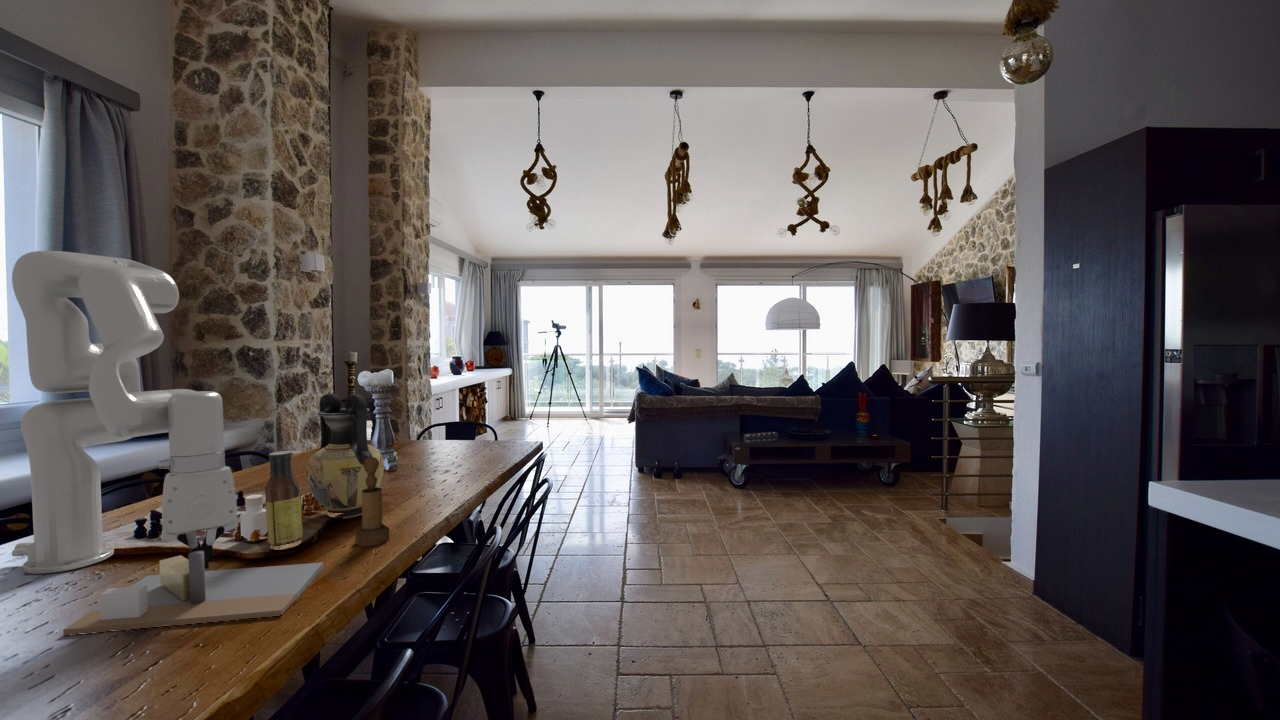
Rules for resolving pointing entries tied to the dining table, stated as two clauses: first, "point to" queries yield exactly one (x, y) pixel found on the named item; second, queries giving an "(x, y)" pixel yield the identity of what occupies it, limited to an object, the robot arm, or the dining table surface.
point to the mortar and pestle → (371, 510)
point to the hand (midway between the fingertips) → (202, 567)
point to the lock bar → (176, 576)
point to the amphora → (342, 456)
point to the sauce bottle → (283, 502)
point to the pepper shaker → (253, 516)
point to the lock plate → (239, 583)
